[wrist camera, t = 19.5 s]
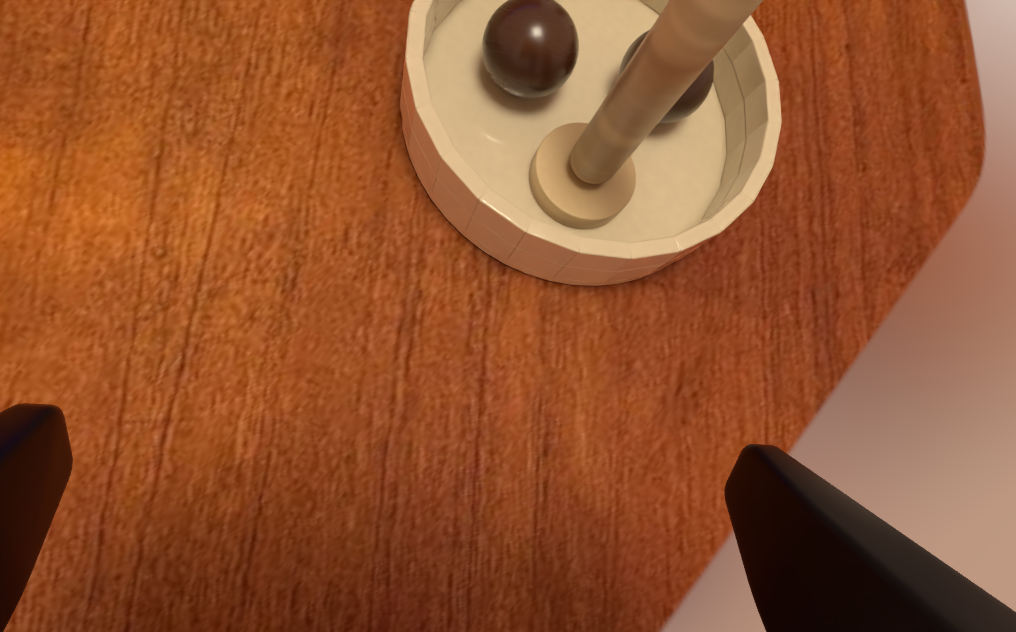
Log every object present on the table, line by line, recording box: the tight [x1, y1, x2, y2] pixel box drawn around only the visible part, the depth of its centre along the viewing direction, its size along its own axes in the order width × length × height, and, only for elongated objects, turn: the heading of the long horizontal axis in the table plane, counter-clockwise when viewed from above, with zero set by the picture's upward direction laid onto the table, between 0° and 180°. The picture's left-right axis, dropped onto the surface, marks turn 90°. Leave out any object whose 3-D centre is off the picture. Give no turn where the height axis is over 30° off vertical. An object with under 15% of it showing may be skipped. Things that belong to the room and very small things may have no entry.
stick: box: [529, 0, 763, 229], centre depth 17 cm, size 4×4×16 cm
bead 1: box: [482, 0, 579, 99], centre depth 24 cm, size 4×4×4 cm
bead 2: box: [619, 30, 714, 124], centre depth 25 cm, size 4×4×4 cm
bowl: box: [400, 0, 782, 286], centre depth 25 cm, size 14×14×4 cm
